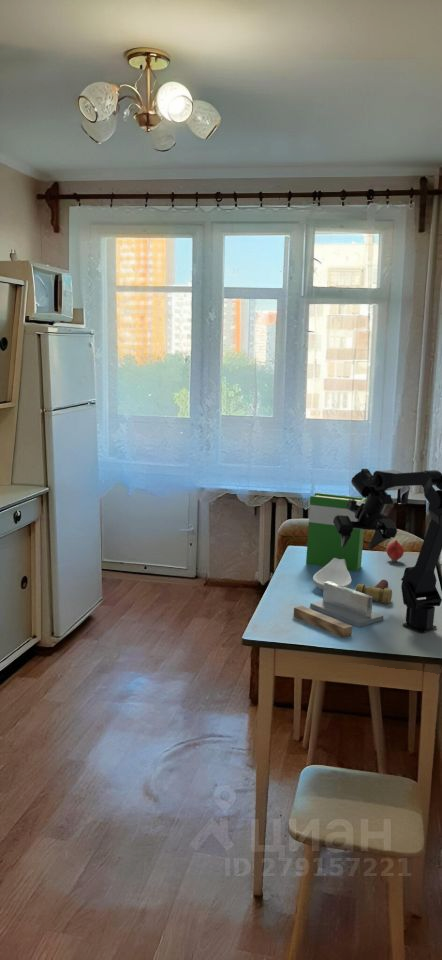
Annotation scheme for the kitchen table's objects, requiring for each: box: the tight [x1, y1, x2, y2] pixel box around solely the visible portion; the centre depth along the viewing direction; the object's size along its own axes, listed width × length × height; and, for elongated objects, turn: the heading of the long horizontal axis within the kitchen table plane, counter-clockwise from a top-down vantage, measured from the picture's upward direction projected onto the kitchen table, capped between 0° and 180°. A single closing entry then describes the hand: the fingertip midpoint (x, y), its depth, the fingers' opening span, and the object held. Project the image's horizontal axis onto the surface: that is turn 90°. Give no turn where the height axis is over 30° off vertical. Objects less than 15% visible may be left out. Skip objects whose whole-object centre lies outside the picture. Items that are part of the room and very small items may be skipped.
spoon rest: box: [312, 558, 353, 592], centre depth 224 cm, size 24×12×7 cm, turn 163°
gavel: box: [355, 579, 393, 605], centre depth 218 cm, size 21×5×10 cm
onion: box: [386, 539, 404, 562], centre depth 253 cm, size 6×6×8 cm
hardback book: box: [305, 492, 367, 573], centre depth 244 cm, size 18×7×24 cm, turn 69°
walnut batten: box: [292, 605, 353, 639], centre depth 188 cm, size 18×3×3 cm, turn 39°
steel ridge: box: [322, 581, 373, 619], centre depth 198 cm, size 16×2×6 cm, turn 39°
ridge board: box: [309, 599, 384, 628], centre depth 198 cm, size 18×10×1 cm, turn 39°
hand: (356, 547), depth 215 cm, fingers open, 9 cm apart
